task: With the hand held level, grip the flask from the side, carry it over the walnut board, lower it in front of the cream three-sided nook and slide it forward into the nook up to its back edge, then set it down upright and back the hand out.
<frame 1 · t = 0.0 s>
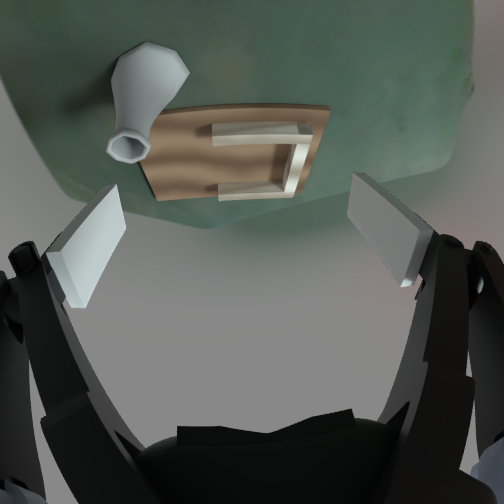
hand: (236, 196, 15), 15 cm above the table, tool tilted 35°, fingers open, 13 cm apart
flask: (150, 72, 20), on the table
nook board: (227, 155, 33), on the table
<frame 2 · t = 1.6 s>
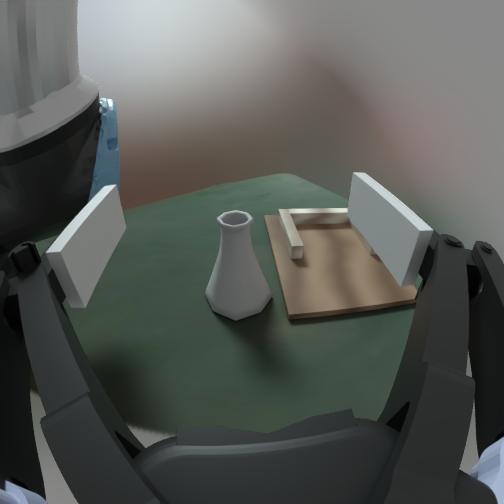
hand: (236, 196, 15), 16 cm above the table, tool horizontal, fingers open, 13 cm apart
flask: (238, 298, 32), on the table
nook board: (333, 254, 38), on the table
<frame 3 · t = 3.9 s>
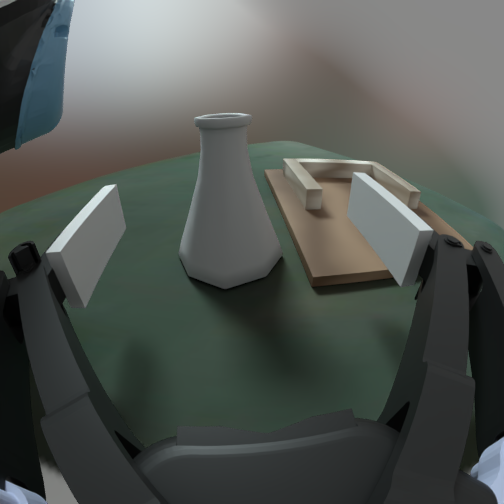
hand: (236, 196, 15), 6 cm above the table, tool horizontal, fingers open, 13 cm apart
flask: (230, 259, 20), on the table
nook board: (360, 209, 27), on the table
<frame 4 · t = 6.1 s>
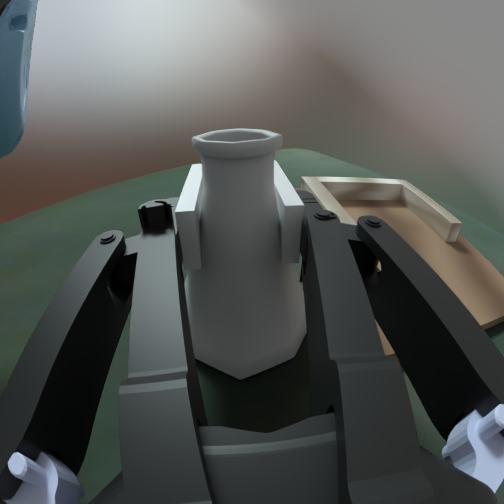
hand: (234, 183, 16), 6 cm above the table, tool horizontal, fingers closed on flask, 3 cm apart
flask: (243, 325, 15), on the table, touching gripper
nook board: (394, 243, 22), on the table
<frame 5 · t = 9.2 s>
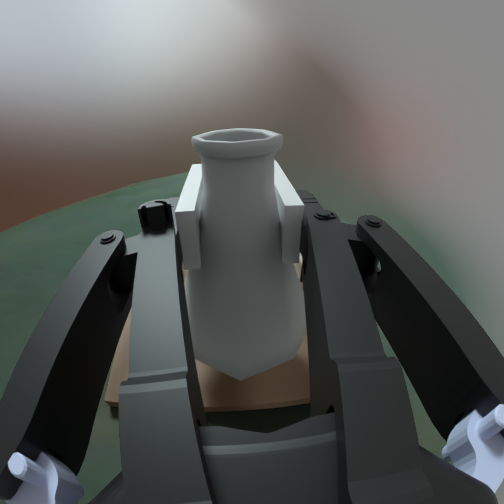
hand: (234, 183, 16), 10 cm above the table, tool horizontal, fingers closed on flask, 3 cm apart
flask: (243, 326, 15), point 3 cm above the table, touching gripper
nook board: (236, 286, 23), on the table
when the fingers open (8 cm above the table, at t = 12.4 s): flask drops 1 cm, resting on nook board.
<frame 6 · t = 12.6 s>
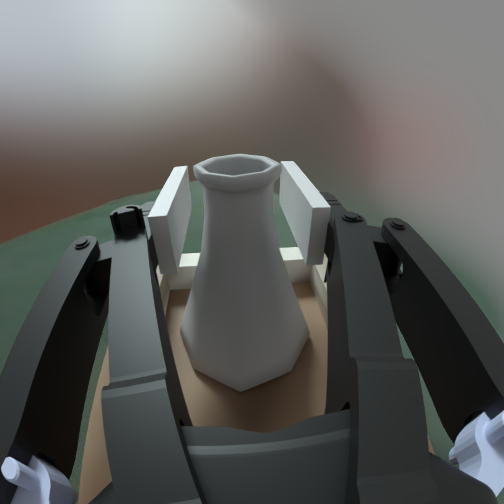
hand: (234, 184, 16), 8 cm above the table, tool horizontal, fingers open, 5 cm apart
flask: (244, 339, 16), point 1 cm above the table, touching nook board
nook board: (249, 385, 14), on the table
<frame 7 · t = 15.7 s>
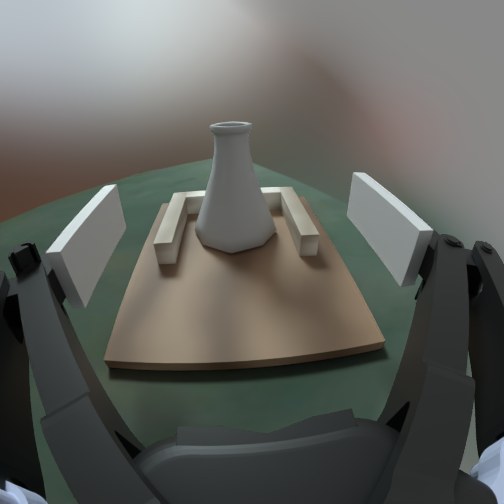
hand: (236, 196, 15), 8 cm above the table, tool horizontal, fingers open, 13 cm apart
flask: (235, 234, 26), point 1 cm above the table, touching nook board
nook board: (237, 257, 24), on the table
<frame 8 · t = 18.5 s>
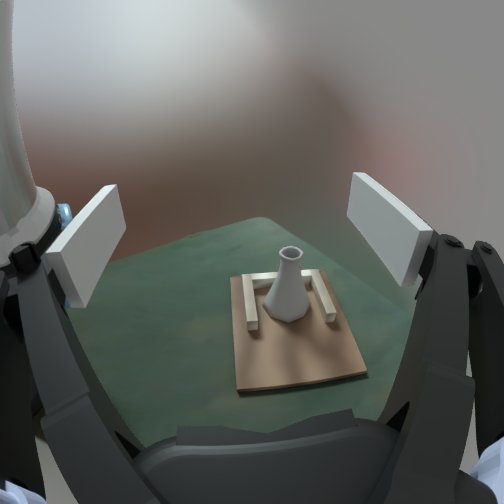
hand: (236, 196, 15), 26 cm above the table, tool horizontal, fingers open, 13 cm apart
flask: (286, 306, 43), point 1 cm above the table, touching nook board
nook board: (289, 322, 41), on the table
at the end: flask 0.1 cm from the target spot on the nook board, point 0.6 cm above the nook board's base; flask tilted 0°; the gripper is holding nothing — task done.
